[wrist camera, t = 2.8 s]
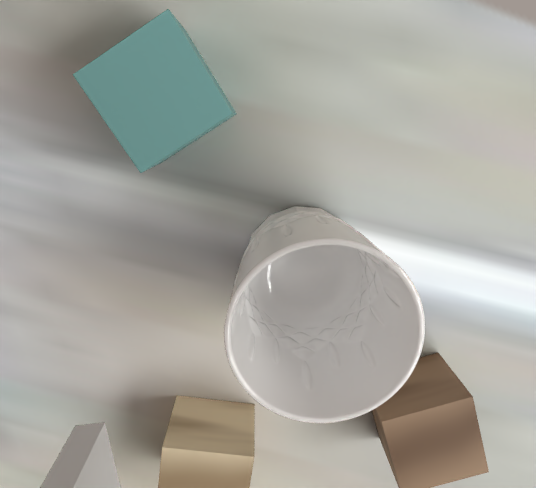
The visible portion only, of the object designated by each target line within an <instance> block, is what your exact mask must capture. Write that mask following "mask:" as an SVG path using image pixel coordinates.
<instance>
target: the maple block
mask: <svg viewBox="0 0 536 488" xmlns="http://www.w3.org/2000/svg"><path fill="white" fill-rule="evenodd" d="M253 462H254V404H249V403H240V402H231V401H222V400H213V399H204V398H195V397H186V396H177V397H176V400H175V404H174V407H173V411H172V414H171V418H170V421H169V425H168V428H167V432H166V436H165V439H164V443H163V446H162V454H161V464H160V473H159V483H158V488H249V486H250V480H251V474H252V468H253Z"/></svg>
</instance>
